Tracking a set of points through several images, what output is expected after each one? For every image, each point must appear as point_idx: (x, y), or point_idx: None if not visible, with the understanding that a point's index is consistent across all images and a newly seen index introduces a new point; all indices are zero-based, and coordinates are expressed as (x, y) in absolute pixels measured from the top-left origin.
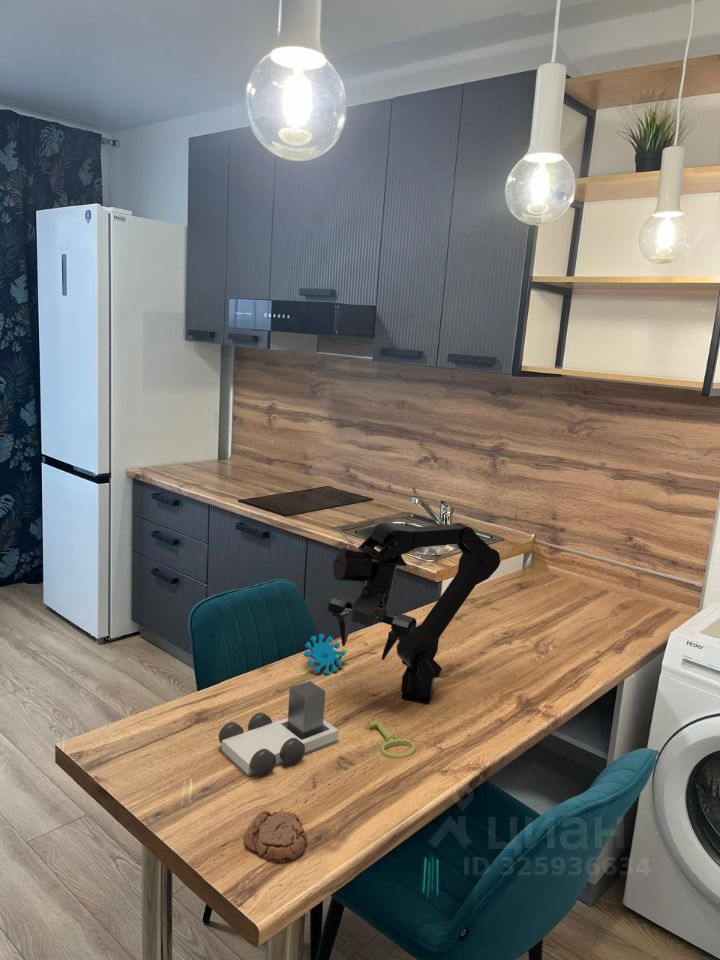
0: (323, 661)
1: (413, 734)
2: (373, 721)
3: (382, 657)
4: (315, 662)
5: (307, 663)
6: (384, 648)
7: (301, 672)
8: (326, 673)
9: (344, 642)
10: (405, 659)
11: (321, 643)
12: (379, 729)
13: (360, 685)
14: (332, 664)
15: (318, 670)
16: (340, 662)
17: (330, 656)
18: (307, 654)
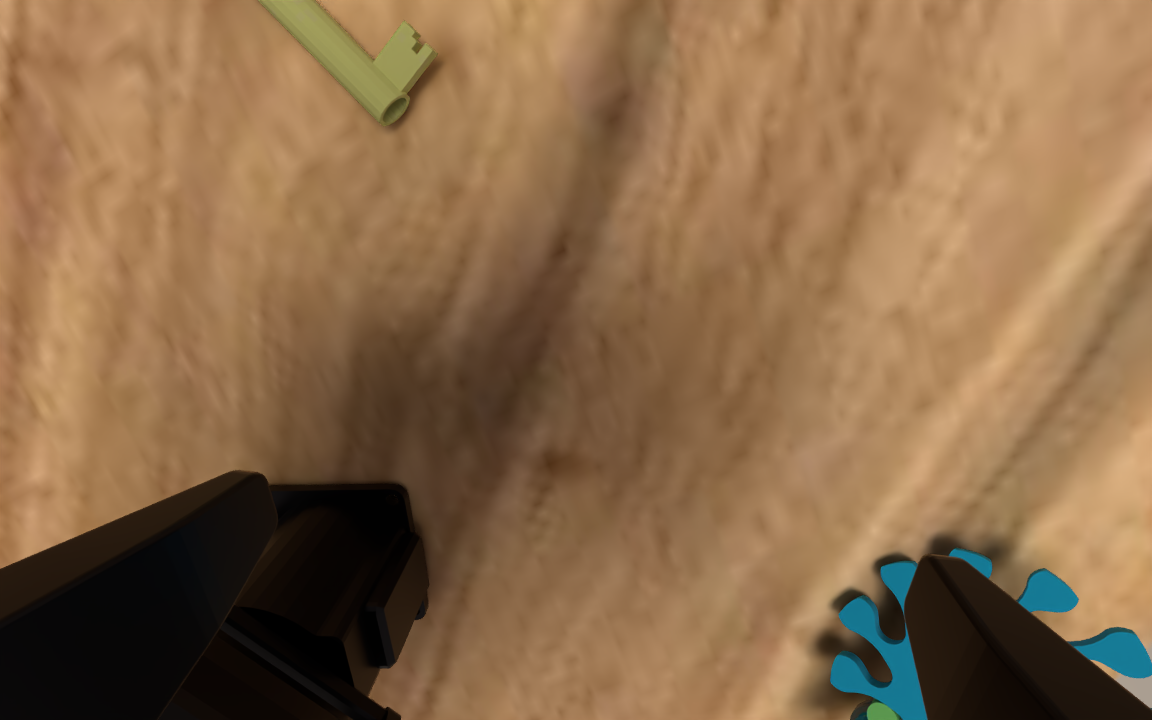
0: None
1: (170, 129)
2: (402, 82)
3: (227, 485)
4: None
5: (1064, 582)
6: (57, 595)
7: (1052, 532)
8: (895, 563)
9: (959, 608)
10: (240, 690)
11: None
12: (340, 26)
13: (664, 529)
14: (886, 642)
15: (958, 557)
16: (843, 675)
17: None
18: (1117, 644)
